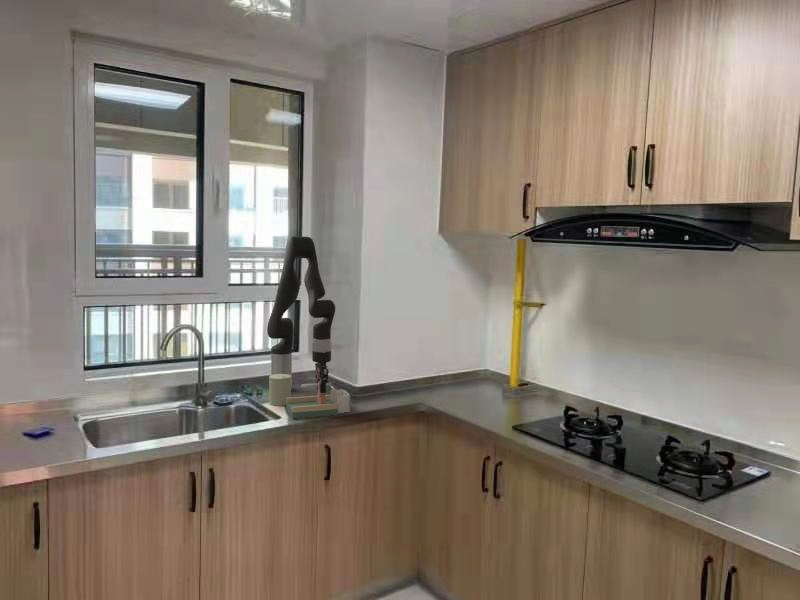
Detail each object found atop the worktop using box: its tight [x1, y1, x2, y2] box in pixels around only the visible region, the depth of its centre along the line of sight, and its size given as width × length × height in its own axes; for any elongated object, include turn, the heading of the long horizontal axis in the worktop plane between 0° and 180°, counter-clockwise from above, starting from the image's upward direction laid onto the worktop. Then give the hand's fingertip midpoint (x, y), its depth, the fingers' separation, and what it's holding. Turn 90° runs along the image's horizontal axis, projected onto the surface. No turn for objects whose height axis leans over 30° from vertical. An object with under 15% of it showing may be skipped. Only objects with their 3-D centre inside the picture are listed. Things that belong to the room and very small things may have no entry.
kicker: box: [301, 380, 333, 405], centre depth 247 cm, size 7×12×9 cm, turn 110°
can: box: [268, 374, 292, 407], centre depth 259 cm, size 9×9×12 cm
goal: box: [330, 385, 351, 414], centre depth 250 cm, size 10×6×9 cm, turn 20°
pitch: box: [285, 394, 339, 419], centre depth 246 cm, size 15×18×4 cm
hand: (321, 391), depth 247 cm, fingers open, 4 cm apart
